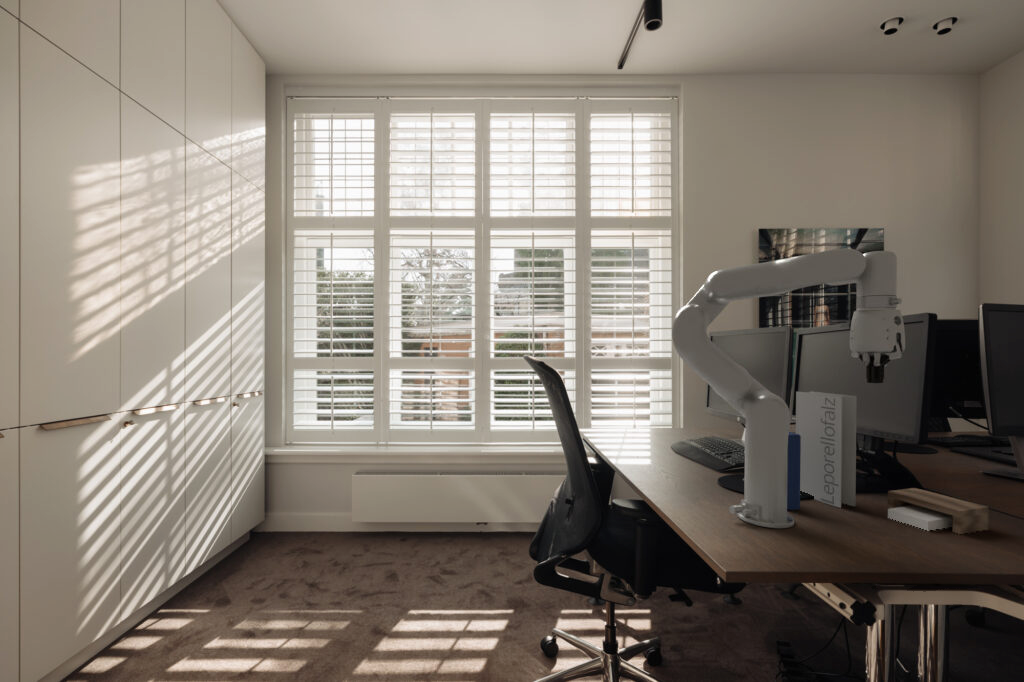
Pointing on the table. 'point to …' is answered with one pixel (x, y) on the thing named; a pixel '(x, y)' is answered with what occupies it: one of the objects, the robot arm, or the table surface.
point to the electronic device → (793, 471)
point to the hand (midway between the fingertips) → (875, 382)
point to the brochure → (827, 446)
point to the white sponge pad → (921, 517)
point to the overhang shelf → (944, 508)
